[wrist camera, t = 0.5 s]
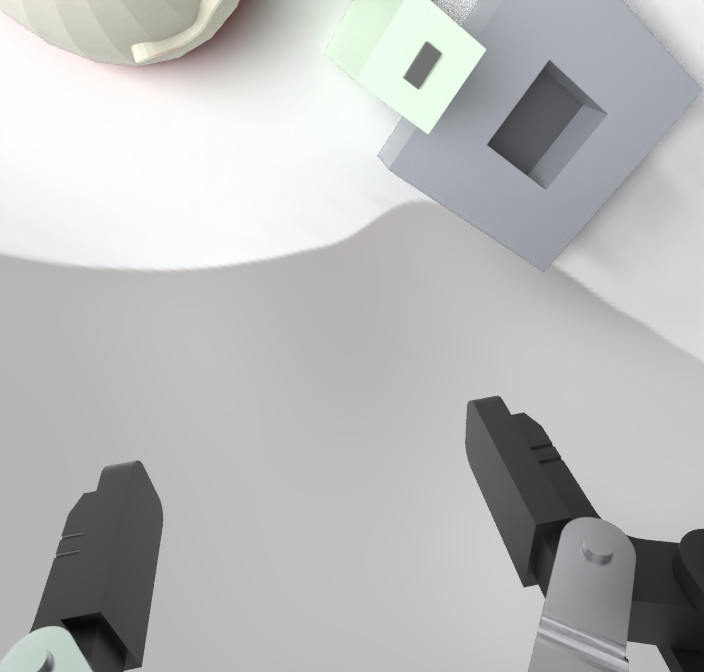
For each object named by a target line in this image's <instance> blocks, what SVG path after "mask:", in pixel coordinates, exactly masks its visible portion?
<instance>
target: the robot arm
mask: <svg viewBox="0 0 704 672" xmlns="http://www.w3.org/2000/svg"><path fill="white" fill-rule="evenodd" d="M465 444H466V453H467V457H468V461H469V464H470V466H471V469H472V471H473V474H474V476H475V478H476V480H477V483H478V485H479V487H480V489H481V492H482V494H483V496H484V499H485V501H486V503H487V505H488V508H489V510H490V512H491V514H492V516H493V519H494V521H495V523H496V526H497V528H498V530H499V532H500V534H501V537H502V539H503V541H504V544H505V546H506V548H507V550H508V553H509V555H510V557H511V559H512V562H513V564H514V566H515V569H516V571H517V573H518V575H519V578H520V580H521V582H522V584H523V587H528V586H533V585H538V584H539V587H540V588H541V591H542V593H543V595H544V597H545V603H544V607H543V611H542V615H541V619H540V623H539V628H538V632H537V636H536V640H535V644H534V648H533V653H532V657H531V661H530V666H529V669H528V672H629V661H628V659H626V644H627V641H630V642H637V643H644V644H651V645H656V646H657V647H658V649H659V651H660V653H661V655H662V657H663V658H664V660H665V662H666V664H667V666H668V668H669V670H670V672H704V529H697V530H693V531H691V532H688V533H687V534H686V535H685V536H684V537H683V538H682V540H681V542H680V543H673V542H663V541H654V540H645V539H638V538H634V537H630V536H628V535H626V534H625V533H623V532H622V531H621V530H620V529H619V528H617V527H616V526H615V525H613V524H611V523H609V522H607V521H604V520H602V519H601V518H600V517H599V515H598V514H597V513H596V511H595V510H594V508H593V507H592V505H591V503H590V502H589V500H588V499H587V497H586V496H585V494H584V492H583V491H582V489H581V488H580V486H579V485H578V483H577V481H576V480H575V478H574V477H573V475H572V473H571V472H570V470H569V469H568V467H567V466H566V464H565V462H564V461H562V460H561V456H560V455H559V453H558V451H557V450H556V448H555V447H553V445H552V442H551V440H550V439H549V437H548V436H547V434H546V432H545V431H544V429H543V428H542V426H541V425H539V424H538V423H537V422H536V421H534V420H533V419H532V418H530V417H529V416H528V415H526V414H525V413H519V414H514V415H511V414H510V412H509V410H508V409H507V407H506V405H505V403H504V402H503V400H502V399H501V397H499V396H493V397H488V398H483V399H477V400H472V401H469V402H468V404H467V420H466V439H465ZM162 527H163V511H162V505H161V502H160V499H159V497H158V495H157V493H156V491H155V489H154V487H153V484H152V482H151V480H150V478H149V476H148V474H147V472H146V470H145V468H144V466H143V464H142V463H141V462H140V461H133V462H127V463H122V464H116V465H111V466H106V467H105V468H104V469H103V471H102V473H101V477H100V480H99V484H98V487H97V491H95V492H89V493H84V494H83V496H82V497H81V498H80V499H79V501H78V502H77V504H76V505H75V506H74V508H73V509H72V510H71V512H70V513H69V515H68V518H67V521H66V524H65V527H64V530H63V533H62V540H60V543H59V546H58V549H57V552H56V558H55V559H54V561H53V565H52V568H51V570H50V574H49V577H48V580H47V583H46V586H45V589H44V592H43V595H42V598H41V602H40V605H39V608H38V611H37V614H36V617H35V620H34V623H33V626H32V628H31V631H30V633H29V634H28V635H27V636H25V637H23V638H22V639H21V640H19V641H18V642H17V643H16V644H15V645H14V646H13V647H12V648H11V649H10V650H9V651H8V653H7V654H6V655H5V656H4V658H3V659H2V661H1V663H0V672H123V671H125V670H129V669H134V668H139V667H142V661H143V655H144V648H145V641H146V634H147V627H148V621H149V614H150V608H151V601H152V594H153V588H154V581H155V574H156V566H157V560H158V554H159V547H160V540H161V534H162Z"/></svg>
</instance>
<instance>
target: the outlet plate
mask: <svg viewBox="0 0 704 672" xmlns="http://www.w3.org/2000/svg"><path fill="white" fill-rule="evenodd" d="M461 28H463V29H464V30H465V31H466V32H467V33H468V34H469V35H471V36H472V37H473V38H474V39H475V40H476V41H477V42H478V43H480V44H481V45H482V46H483V47H484V48H485V49H486V51H485V52H484V54H483V55H482V57H481V58H480V60H479V61H478V63H477V64H476V66H475V67H474V68H473V70H472V71H471V73H470V74H469V76H468V77H467V79H466V80H465V82H464V83H463V85H462V86H461V87H460V89H459V90H458V92H457V93H456V95H455V96H454V98H453V99H452V101H451V102H450V104H449V105H448V106H447V108H446V109H445V111H444V112H443V114H442V115H441V117H440V118H439V120H438V121H437V123H436V124H435V125H434V127H433V128H432V130H431V131H430V133H429V134H427V133H426V132H424V131H423V130H421V129H420V128H419V127H417V126H416V125H415V124H413V123H412V122H410V121H409V120H408V119H406V118H405V117H404V116H403V117H402V119H401V120H400V122H399V123H398V125H397V126H396V128H395V129H394V131H393V133H392V134H391V136H390V137H389V139H388V140H387V142H386V143H385V145H384V146H383V148H382V149H381V151H380V152H379V154H378V155H377V156H378V157H379V158H380V160H381V161H382V162H383V164H384V165H385V166H386V167H387V169H388V170H390V171H391V172H393V173H394V174H396V175H397V176H399V177H400V178H402V179H403V180H405V181H406V182H408V183H409V184H411V185H412V186H414V187H415V188H417V189H418V190H420V191H421V192H423V193H425V194H426V195H428V196H429V197H431V198H432V199H434V200H435V201H437V202H438V203H440V204H441V205H443V206H444V207H446V208H447V209H449V210H450V211H452V212H453V213H455V214H456V215H458V216H459V217H461V218H462V219H464V220H465V221H467V222H469V223H470V224H471V225H473V226H474V227H476V228H478V229H479V230H481V231H482V232H484V233H485V234H487V235H488V236H490V237H491V238H493V239H494V240H496V241H497V242H499V243H500V244H502V245H503V246H505V247H506V248H508V249H509V250H511V251H512V252H514V253H515V254H517V255H518V256H520V257H521V258H523V259H524V260H526V261H528V262H529V263H530V264H532V265H534V266H535V267H537V268H538V269H540V270H541V271H543V272H544V271H545V270H546V269H547V268H548V267H549V266H550V265H551V263H552V262H553V261H554V260H555V259H556V258H557V257H558V255H559V254H560V253H561V252H562V251H563V250H564V249H565V247H566V246H567V245H568V244H569V243H570V242H571V241H572V239H573V238H574V237H575V236H576V235H577V234H578V233H579V231H580V230H581V229H582V228H583V227H584V226H585V225H586V223H587V222H588V221H589V220H590V219H591V218H592V217H593V215H594V214H595V213H596V212H597V211H598V210H599V209H600V207H601V206H602V205H603V204H604V203H605V202H606V201H607V199H608V198H609V197H610V196H611V195H612V194H613V193H614V191H615V190H616V189H617V188H618V187H619V186H620V185H621V183H622V182H623V181H624V180H625V179H626V178H627V177H628V175H629V174H630V173H631V172H632V171H633V170H634V169H635V167H636V166H637V165H638V164H639V163H640V162H641V161H642V160H643V158H644V157H645V156H646V155H647V154H648V153H649V152H650V150H651V149H652V148H653V147H654V146H655V145H656V144H657V142H658V141H659V140H660V139H661V138H662V137H663V136H664V134H665V133H666V132H667V131H668V130H669V129H670V128H671V126H672V125H673V124H674V123H675V122H676V121H677V120H678V118H679V117H680V116H681V115H682V114H683V113H684V112H685V110H686V109H687V108H688V107H689V106H690V105H691V104H692V102H693V101H694V100H695V99H696V98H697V97H698V96H699V94H700V93H701V92H702V91H703V90H702V89H701V87H700V86H699V85H698V84H697V83H696V82H695V81H694V80H693V79H692V77H691V76H690V75H689V74H688V73H687V72H686V71H685V70H684V69H683V67H682V66H681V65H680V64H679V63H678V62H677V61H676V60H675V59H674V57H673V56H672V55H671V54H670V53H669V52H668V51H667V50H666V49H665V47H664V46H663V45H662V44H661V43H660V42H659V41H658V40H657V39H656V37H655V36H654V35H653V34H652V33H651V32H650V31H649V30H648V29H647V27H646V26H645V25H644V24H643V23H642V22H641V21H640V20H639V19H638V17H637V16H636V15H635V14H634V13H633V12H632V11H631V10H630V9H629V7H628V6H627V5H626V4H625V3H624V2H623V1H622V0H479V1H478V2H477V4H476V5H475V7H474V8H473V10H472V12H471V13H470V15H469V16H468V18H467V19H466V21H465V22H464V24H463V25H462V27H461Z"/></svg>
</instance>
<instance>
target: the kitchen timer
mask: <svg viewBox="0 0 704 672" xmlns="http://www.w3.org/2000/svg"><path fill="white" fill-rule="evenodd" d="M239 1H240V0H0V10H1V11H2V12H3V13H5V14H6V15H7V16H9V17H10V18H12V19H13V20H15V21H16V22H18V23H19V24H21V25H22V26H24V27H25V28H26V29H28V30H29V31H31V32H32V33H34V34H35V35H37V36H38V37H40V38H41V39H43V40H44V41H45V42H47V43H48V44H50V45H53V46H55V47H58V48H60V49H63V50H66V51H68V52H71V53H74V54H76V55H79V56H81V57H84V58H87V59H89V60H92V61H95V62H100V63H111V64H121V65H132V66H143V65H148V64H152V63H157V62H161V61H166V60H171V59H175V58H179V57H181V56H182V55H184V54H186V53H187V52H189V51H191V50H192V49H194V48H196V47H197V46H199V45H200V44H202V43H204V42H205V41H207V40H209V39H210V38H212V36H213V35H214V34H215V33H216V32H217V30H218V29H219V28H220V27H221V26H222V24H223V23H224V22H225V21H226V20H227V18H228V17H229V16H230V15H231V14H232V12H233V11H234V10H235V9H236V7H237V5H238V3H239Z"/></svg>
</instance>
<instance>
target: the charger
mask: <svg viewBox="0 0 704 672" xmlns="http://www.w3.org/2000/svg"><path fill="white" fill-rule="evenodd" d="M485 51H486V49H485V48H484V47H483V46H482V45H481V44H480V43H478V42H477V41H476V40H475V39H474V38H473V37H472V36H471V35H469V34H468V33H467V32H466V31H465V30H464V29H463V28H461V27H460V26H459V25H458V24H457V23H456V22H455V21H453V20H452V19H451V18H450V17H449V16H448V15H447V14H445V13H444V12H443V11H442V10H441V9H440V8H439V7H437V6H436V5H435V4H434V3H433V2H432V1H431V0H353V1H352V3H351V5H350V7H349V9H348V10H347V12H346V14H345V16H344V17H343V19H342V21H341V23H340V25H339V26H338V28H337V30H336V32H335V34H334V35H333V37H332V39H331V41H330V42H329V44H328V46H327V48H326V50H325V51H324V53H323V54H325V55H326V56H327V57H328V58H329V59H330V60H331V61H333V62H334V63H335V64H336V65H337V66H338V67H339V68H341V69H342V70H343V71H344V72H345V73H346V74H347V75H349V76H350V77H351V78H352V79H353V80H354V81H355V82H357V83H358V84H360V85H361V86H362V87H364V88H365V89H366V90H368V91H369V92H371V93H372V94H373V95H375V96H376V97H377V98H379V99H380V100H382V101H383V102H384V103H386V104H387V105H388V106H390V107H391V108H393V109H394V110H395V111H397V112H398V113H399V114H401V115H402V116H404V117H405V118H406V119H408V120H409V121H410V122H412V123H413V124H415V125H416V126H417V127H419V128H420V129H421V130H423V131H424V132H426V133H427V134H429V133H430V131H431V130H432V128H433V127H434V125H435V124H436V123H437V121H438V120H439V118H440V117H441V115H442V114H443V112H444V111H445V109H446V108H447V106H448V105H449V104H450V102H451V101H452V99H453V98H454V96H455V95H456V93H457V92H458V90H459V89H460V87H461V86H462V85H463V83H464V82H465V80H466V79H467V77H468V76H469V74H470V73H471V71H472V70H473V68H474V67H475V66H476V64H477V63H478V61H479V60H480V58H481V57H482V55H483V54H484V52H485Z"/></svg>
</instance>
